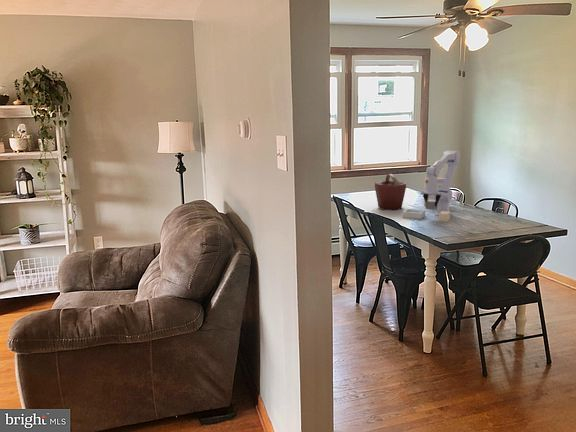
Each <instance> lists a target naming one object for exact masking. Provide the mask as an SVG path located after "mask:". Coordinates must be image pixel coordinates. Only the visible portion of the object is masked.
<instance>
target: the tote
mask: <svg viewBox="0 0 576 432" xmlns="http://www.w3.org/2000/svg"><path fill="white" fill-rule="evenodd" d="M425 217H426V210H425V209H414V208H407V209H404V210H403V211H402V218H404V219H413V218H416V219H415V220H422V219H423V218H425Z"/></svg>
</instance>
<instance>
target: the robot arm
mask: <svg viewBox="0 0 576 432" xmlns="http://www.w3.org/2000/svg"><path fill="white" fill-rule="evenodd" d="M460 160H461V152H460V151H459V150H445V151H444V152H443V153H442V157H441V158H440V159H439V160H436V161H435V163H434V164H432V165H431V166H429V167H427V170H426V175H427V177H426V178H428V191H424V190H421V191H420V195H422V197H423V200H424V199H425V203H426V201H427V200H428V195H435V199H436V204H435V206H437V208H436V209H437V211H436V213H435V216H439V213H440V212H441V211H448V212H450V202H451V201H452V199H453V191H452V190H451V185H452V181H453V179H454V175H455V173H456V172H455V171H456V169H457V166H458V165H459V163H460ZM445 164H446V165H448V166H447V168H446V173H445V175H444V177H443V178H444V182H443V185H442V187H441V188H439V189H438V190H437V178H438V176H439V175H440V173H441V170H442V169H443V168H444V166H445Z"/></svg>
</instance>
